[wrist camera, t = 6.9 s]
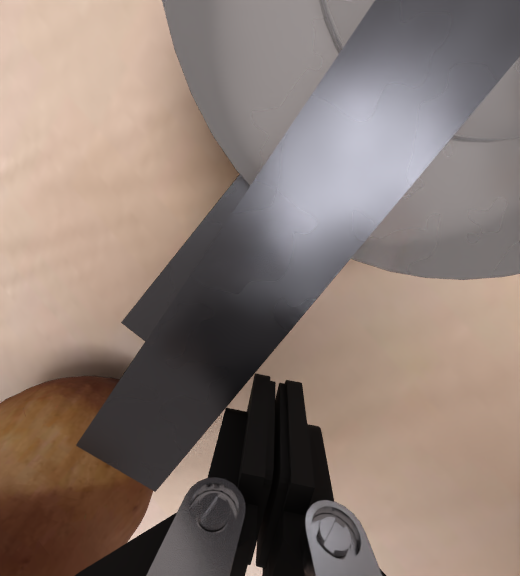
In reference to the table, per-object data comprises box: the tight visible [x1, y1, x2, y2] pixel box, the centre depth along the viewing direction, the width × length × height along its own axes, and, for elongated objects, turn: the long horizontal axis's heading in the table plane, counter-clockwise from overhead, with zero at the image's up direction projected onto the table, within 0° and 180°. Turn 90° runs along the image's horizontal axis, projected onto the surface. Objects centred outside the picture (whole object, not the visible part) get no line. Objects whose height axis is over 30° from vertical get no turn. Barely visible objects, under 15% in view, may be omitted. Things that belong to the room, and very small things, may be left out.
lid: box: [76, 0, 520, 492], centre depth 8 cm, size 28×18×3 cm, turn 144°
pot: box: [121, 175, 250, 341], centre depth 14 cm, size 30×17×12 cm, turn 139°
